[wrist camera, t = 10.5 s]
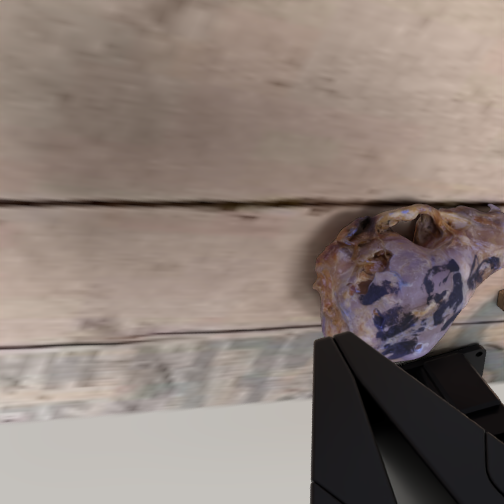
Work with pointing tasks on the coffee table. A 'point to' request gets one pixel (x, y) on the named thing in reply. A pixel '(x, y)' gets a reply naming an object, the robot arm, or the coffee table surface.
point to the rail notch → (501, 299)
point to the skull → (407, 275)
